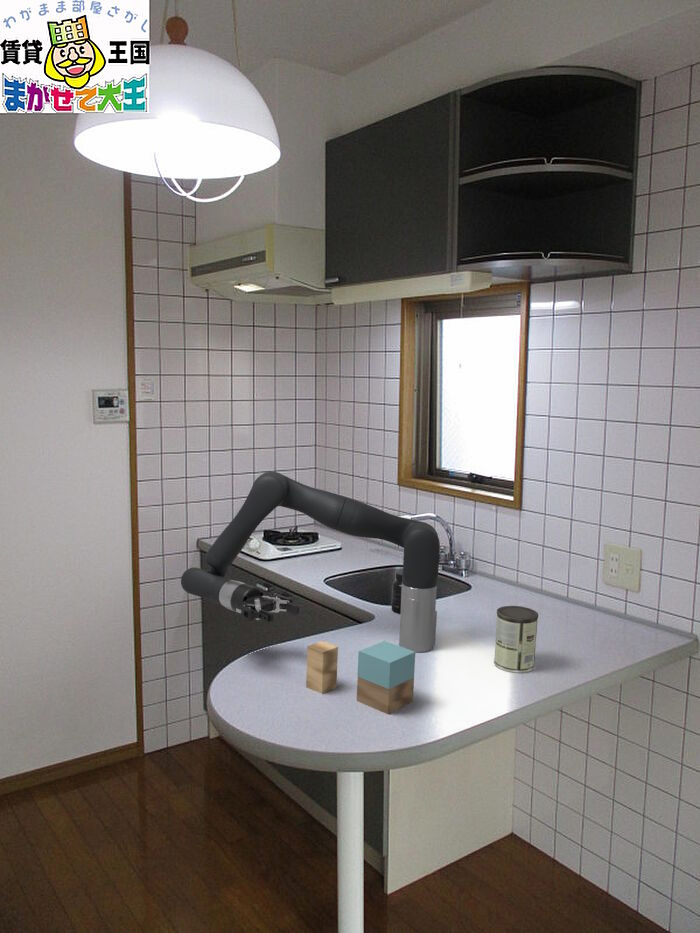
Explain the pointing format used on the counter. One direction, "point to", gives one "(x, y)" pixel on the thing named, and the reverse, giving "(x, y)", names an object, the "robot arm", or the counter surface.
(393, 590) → the supplement bottle
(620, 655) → the counter surface
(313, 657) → the oak block
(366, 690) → the walnut base block
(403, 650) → the teal top block
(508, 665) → the coffee can
